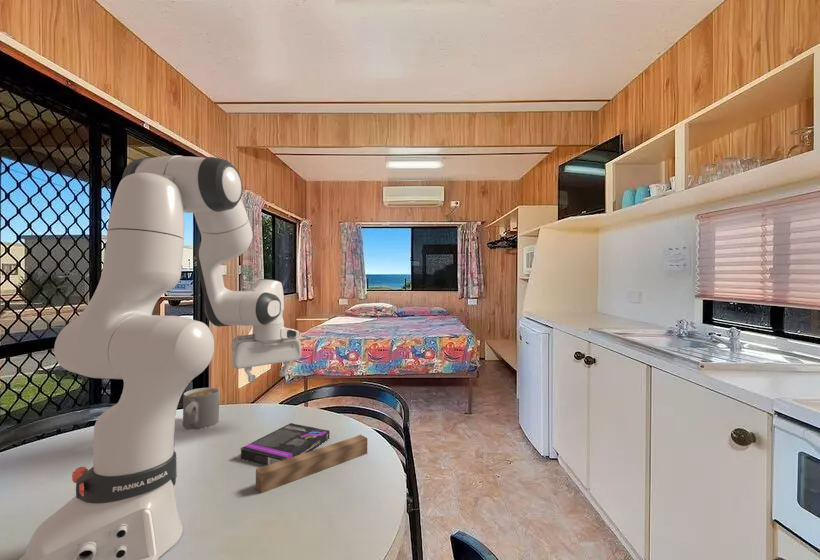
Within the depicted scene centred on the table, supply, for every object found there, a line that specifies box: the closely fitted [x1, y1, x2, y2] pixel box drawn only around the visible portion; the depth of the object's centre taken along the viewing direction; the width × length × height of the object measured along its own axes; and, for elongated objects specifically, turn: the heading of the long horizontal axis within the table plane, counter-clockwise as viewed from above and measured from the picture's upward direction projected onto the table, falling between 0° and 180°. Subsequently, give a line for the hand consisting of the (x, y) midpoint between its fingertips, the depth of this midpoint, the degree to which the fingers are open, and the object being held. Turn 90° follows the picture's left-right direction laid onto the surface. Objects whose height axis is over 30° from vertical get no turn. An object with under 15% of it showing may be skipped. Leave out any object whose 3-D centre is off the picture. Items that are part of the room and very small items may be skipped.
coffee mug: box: [182, 387, 220, 430], centre depth 117 cm, size 13×10×10 cm
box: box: [240, 422, 331, 466], centre depth 101 cm, size 14×4×20 cm
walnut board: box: [255, 434, 368, 494], centre depth 90 cm, size 28×3×4 cm, turn 133°
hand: (267, 378), depth 112 cm, fingers open, 8 cm apart
